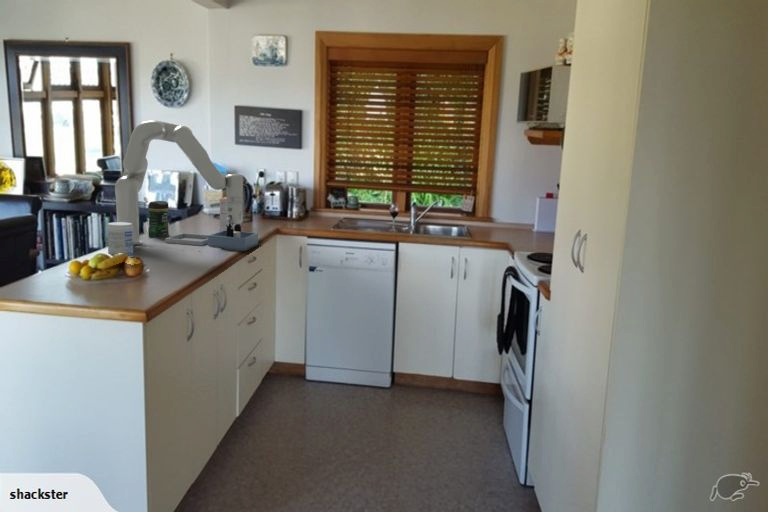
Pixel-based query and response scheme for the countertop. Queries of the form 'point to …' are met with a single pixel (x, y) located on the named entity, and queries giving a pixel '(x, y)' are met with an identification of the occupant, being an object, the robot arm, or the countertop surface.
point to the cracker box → (223, 214)
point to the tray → (188, 239)
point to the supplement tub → (120, 238)
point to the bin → (233, 241)
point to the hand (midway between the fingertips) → (233, 235)
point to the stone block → (237, 234)
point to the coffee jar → (158, 219)
